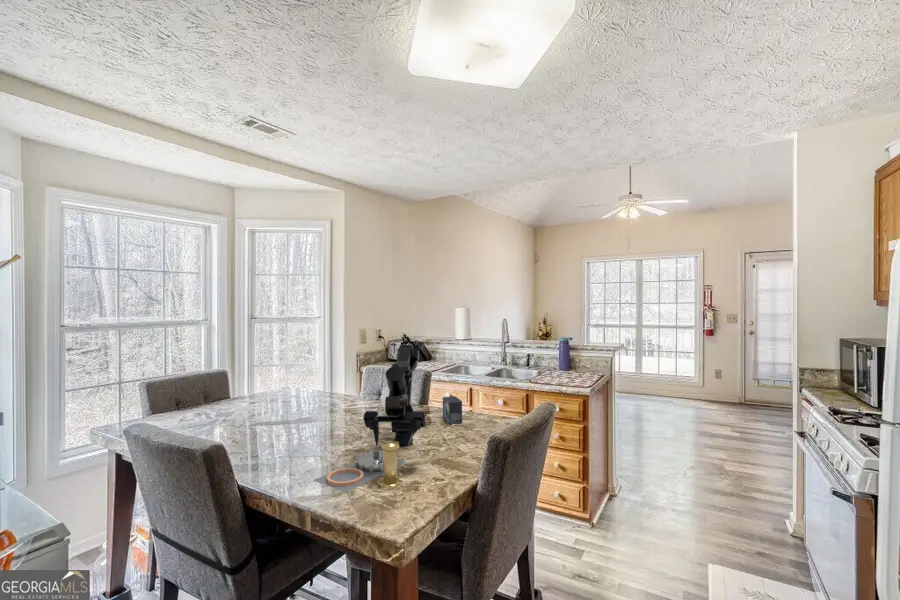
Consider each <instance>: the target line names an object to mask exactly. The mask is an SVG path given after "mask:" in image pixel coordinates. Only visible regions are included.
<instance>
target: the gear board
mask: <svg viewBox="0 0 900 600" xmlns="http://www.w3.org/2000/svg"><path fill="white" fill-rule="evenodd" d="M406 463H407V461H406V460H401V459H398V458H397V468H398V467H401V466H403V465H404V464H406ZM380 476H383V472H380V471H379V472H373V473H369V472H367V471H362V470H360V469H359V468H357V469H356V468H355V461H354V462H352V463H349V464H347V465H345V466H342V467H341V468H339V469H336V470H333V471H331V472H329V473H327V474H325V475H322V476H320V477H317V478H315V479H313V482H317V483H319V484H322V485H324V486H327V487H329V488H333V489H335V490H338V491H341V492H344V493H349V492H351V491H352V490H354V489H357V488H358V487H360V486H362V485H364V484H367V483H368V482H370V481H373V480H375V479H376V478H378V477H380Z"/></svg>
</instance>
